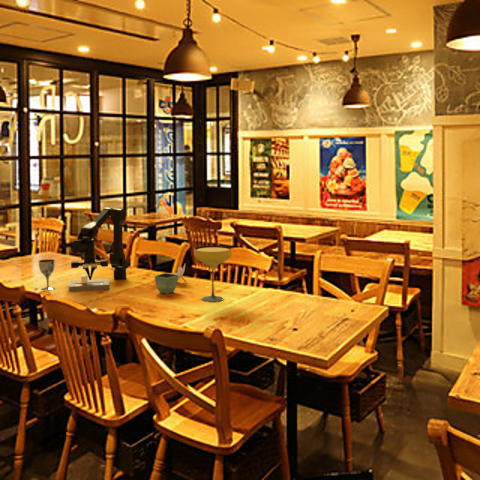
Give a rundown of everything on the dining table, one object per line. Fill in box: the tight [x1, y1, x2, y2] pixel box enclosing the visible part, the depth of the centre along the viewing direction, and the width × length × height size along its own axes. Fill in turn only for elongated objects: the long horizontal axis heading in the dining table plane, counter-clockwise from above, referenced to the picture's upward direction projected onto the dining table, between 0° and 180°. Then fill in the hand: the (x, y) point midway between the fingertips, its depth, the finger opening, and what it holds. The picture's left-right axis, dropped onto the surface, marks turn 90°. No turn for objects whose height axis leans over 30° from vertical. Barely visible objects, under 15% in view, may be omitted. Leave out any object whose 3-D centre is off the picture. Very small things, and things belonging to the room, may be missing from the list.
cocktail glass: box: [193, 245, 232, 303], centre depth 271 cm, size 18×18×25 cm
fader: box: [80, 274, 88, 283], centre depth 295 cm, size 3×5×5 cm, turn 15°
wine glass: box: [38, 258, 56, 291], centre depth 292 cm, size 8×8×15 cm
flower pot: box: [154, 272, 179, 295], centre depth 286 cm, size 9×9×9 cm
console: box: [68, 278, 110, 293], centre depth 296 cm, size 20×14×3 cm
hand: (90, 279), depth 296 cm, fingers closed
